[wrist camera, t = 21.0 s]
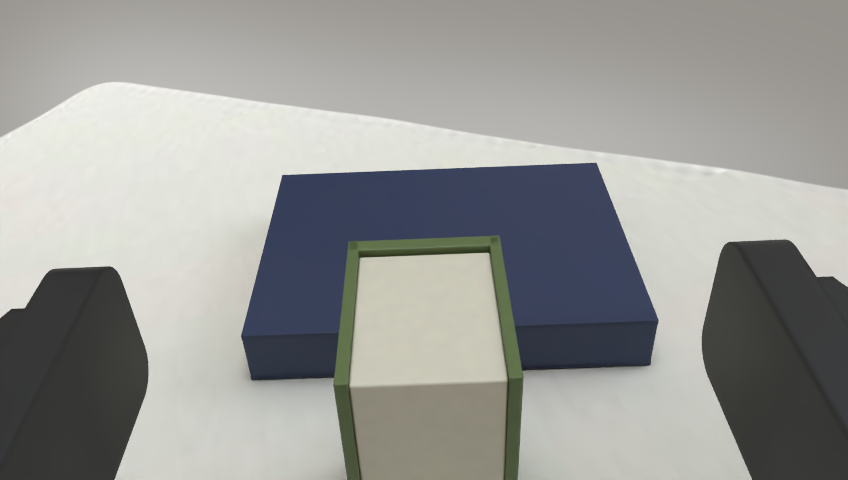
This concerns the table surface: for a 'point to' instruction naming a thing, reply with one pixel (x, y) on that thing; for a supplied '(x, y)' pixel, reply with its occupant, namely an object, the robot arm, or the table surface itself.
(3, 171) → the table surface
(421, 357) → the dictionary
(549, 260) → the block
